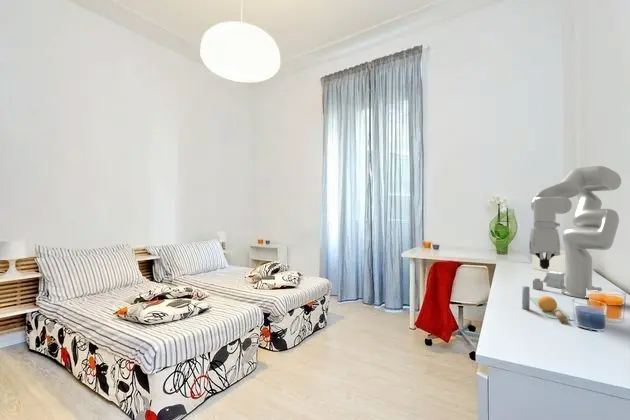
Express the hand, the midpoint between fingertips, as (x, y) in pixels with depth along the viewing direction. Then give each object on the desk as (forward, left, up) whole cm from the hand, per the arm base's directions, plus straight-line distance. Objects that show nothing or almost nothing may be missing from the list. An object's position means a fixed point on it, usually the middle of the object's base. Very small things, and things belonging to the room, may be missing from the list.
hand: (544, 268), depth 131 cm
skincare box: (-28, -29, -15) cm, 43 cm away
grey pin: (+13, +6, -15) cm, 21 cm away
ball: (+6, +10, -12) cm, 17 cm away
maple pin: (+6, +14, -14) cm, 21 cm away
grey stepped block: (-16, -23, -15) cm, 32 cm away
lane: (+2, +6, -15) cm, 16 cm away
